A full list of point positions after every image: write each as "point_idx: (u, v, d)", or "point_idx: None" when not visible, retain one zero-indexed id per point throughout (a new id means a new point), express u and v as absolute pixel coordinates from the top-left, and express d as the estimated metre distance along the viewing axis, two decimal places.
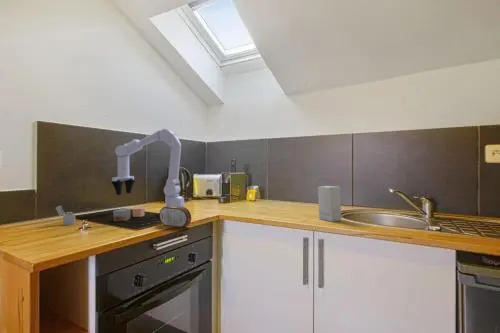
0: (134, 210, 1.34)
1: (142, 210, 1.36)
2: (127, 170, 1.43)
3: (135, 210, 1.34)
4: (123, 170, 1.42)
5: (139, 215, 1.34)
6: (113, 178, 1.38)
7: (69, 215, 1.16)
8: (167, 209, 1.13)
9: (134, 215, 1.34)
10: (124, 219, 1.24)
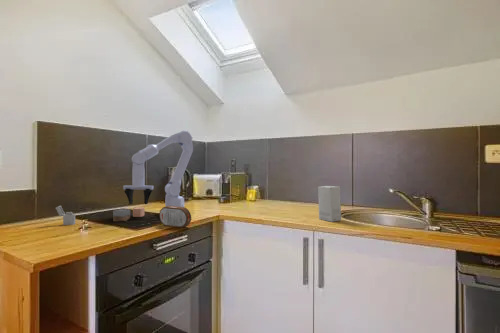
0: (134, 210, 1.34)
1: (142, 210, 1.36)
2: (135, 179, 1.33)
3: (135, 210, 1.34)
4: (132, 178, 1.34)
5: (139, 215, 1.34)
6: None
7: (69, 215, 1.16)
8: (167, 209, 1.13)
9: (134, 215, 1.34)
10: (124, 219, 1.24)
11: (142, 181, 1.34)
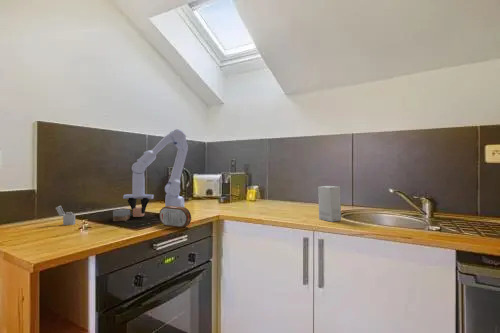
0: (134, 210, 1.34)
1: None
2: (135, 188, 1.33)
3: (135, 210, 1.34)
4: (132, 188, 1.34)
5: (139, 215, 1.34)
6: None
7: (69, 215, 1.16)
8: (167, 209, 1.13)
9: (134, 215, 1.34)
10: (124, 219, 1.24)
11: (142, 190, 1.34)
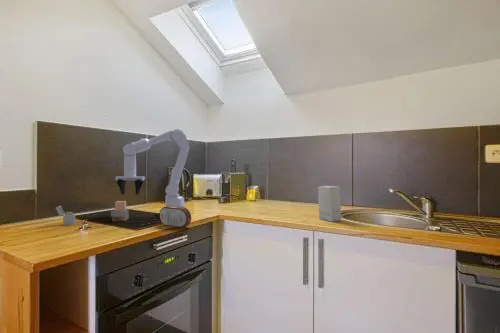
0: (116, 204, 1.24)
1: (125, 203, 1.26)
2: (126, 170, 1.36)
3: (118, 204, 1.24)
4: (124, 169, 1.38)
5: (123, 209, 1.24)
6: None
7: (69, 215, 1.16)
8: (167, 209, 1.13)
9: (117, 209, 1.24)
10: (123, 219, 1.23)
11: (133, 172, 1.38)
